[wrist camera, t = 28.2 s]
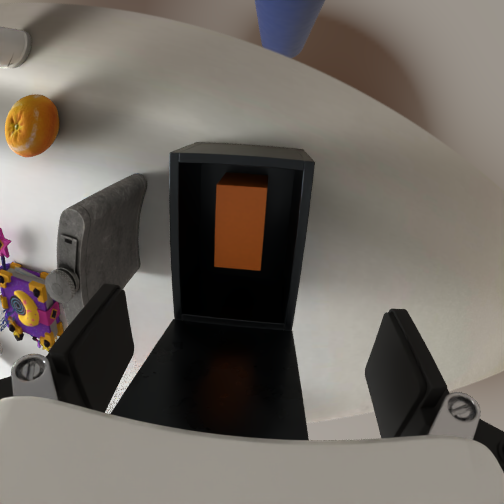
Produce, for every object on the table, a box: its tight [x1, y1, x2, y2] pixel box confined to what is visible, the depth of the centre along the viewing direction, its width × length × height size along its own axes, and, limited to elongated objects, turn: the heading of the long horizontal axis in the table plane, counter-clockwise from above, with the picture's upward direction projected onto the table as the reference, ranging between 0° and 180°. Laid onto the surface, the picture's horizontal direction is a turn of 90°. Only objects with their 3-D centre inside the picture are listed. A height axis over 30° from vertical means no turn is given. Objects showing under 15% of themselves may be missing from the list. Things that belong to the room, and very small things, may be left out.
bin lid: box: [111, 319, 309, 440], centre depth 25 cm, size 19×13×5 cm
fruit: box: [5, 95, 59, 157], centre depth 34 cm, size 8×8×8 cm
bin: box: [169, 142, 315, 331], centre depth 36 cm, size 18×13×11 cm
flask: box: [45, 174, 147, 325], centre depth 34 cm, size 4×14×18 cm, turn 168°
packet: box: [214, 172, 268, 271], centre depth 36 cm, size 5×9×7 cm, turn 176°
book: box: [0, 228, 63, 352], centre depth 43 cm, size 15×25×12 cm, turn 168°
